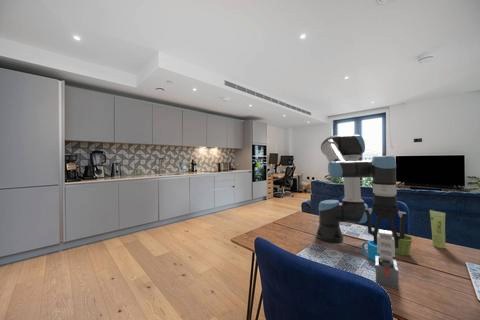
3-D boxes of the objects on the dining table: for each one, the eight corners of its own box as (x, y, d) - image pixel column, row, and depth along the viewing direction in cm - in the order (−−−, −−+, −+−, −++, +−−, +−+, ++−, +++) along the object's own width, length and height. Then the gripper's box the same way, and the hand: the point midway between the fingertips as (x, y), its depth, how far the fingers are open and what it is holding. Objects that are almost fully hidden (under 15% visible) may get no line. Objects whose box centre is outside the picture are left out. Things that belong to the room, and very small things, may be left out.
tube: (431, 246, 106) (430, 211, 106) (430, 243, 110) (429, 209, 110) (446, 249, 103) (445, 213, 103) (444, 246, 106) (443, 211, 107)
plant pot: (408, 259, 93) (407, 241, 93) (386, 251, 102) (385, 235, 102) (417, 254, 98) (416, 237, 98) (395, 247, 106) (395, 231, 106)
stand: (358, 283, 76) (358, 258, 76) (360, 269, 86) (360, 247, 86) (420, 301, 66) (419, 273, 66) (414, 283, 76) (413, 258, 76)
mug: (392, 263, 91) (392, 245, 91) (381, 267, 87) (381, 249, 87) (367, 252, 102) (367, 236, 102) (356, 255, 98) (356, 239, 99)
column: (380, 274, 75) (379, 233, 75) (379, 267, 79) (378, 228, 79) (393, 277, 72) (392, 235, 73) (392, 270, 77) (391, 230, 77)
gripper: (358, 194, 78) (359, 252, 78) (415, 198, 68) (416, 264, 68) (359, 191, 84) (360, 245, 84) (411, 195, 74) (413, 255, 74)
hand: (385, 253), depth 76 cm, fingers closed on column, 4 cm apart
